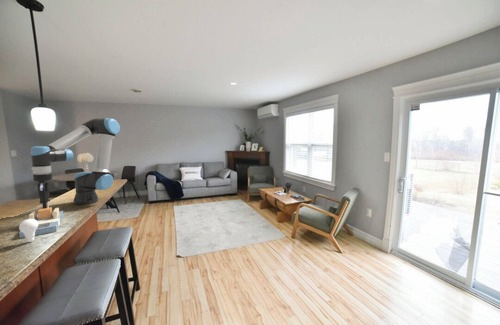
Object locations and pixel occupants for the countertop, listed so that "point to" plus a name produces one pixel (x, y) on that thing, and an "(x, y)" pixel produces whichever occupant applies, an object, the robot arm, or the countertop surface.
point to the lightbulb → (29, 229)
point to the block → (45, 213)
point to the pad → (47, 222)
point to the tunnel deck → (52, 226)
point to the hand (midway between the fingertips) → (45, 213)
